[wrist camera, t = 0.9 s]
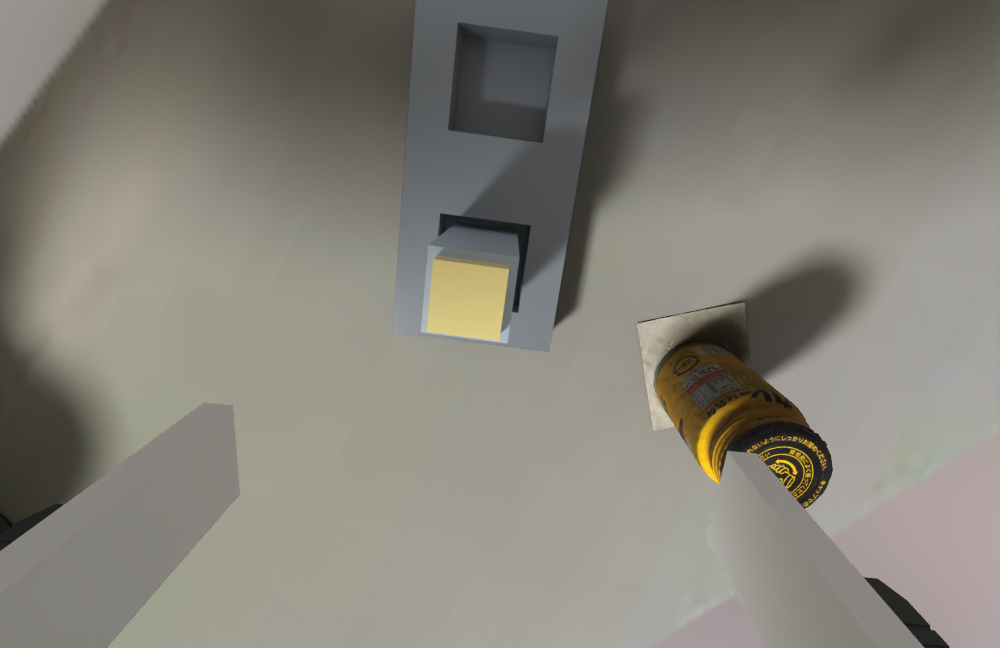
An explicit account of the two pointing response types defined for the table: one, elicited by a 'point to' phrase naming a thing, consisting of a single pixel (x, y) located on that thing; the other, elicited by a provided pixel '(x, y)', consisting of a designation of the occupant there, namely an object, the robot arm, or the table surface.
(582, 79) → the panel
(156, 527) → the robot arm
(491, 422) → the table surface
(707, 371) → the condiment
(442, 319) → the plug
